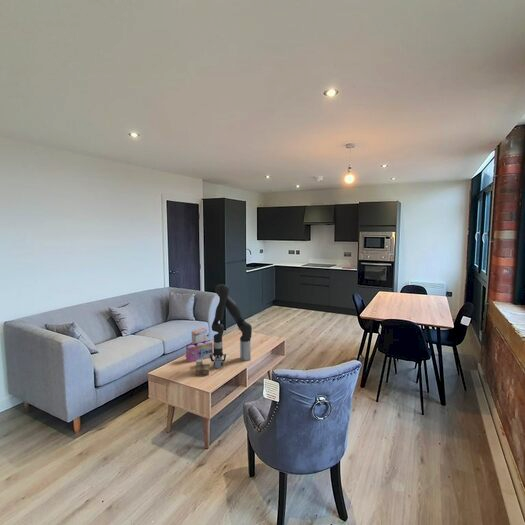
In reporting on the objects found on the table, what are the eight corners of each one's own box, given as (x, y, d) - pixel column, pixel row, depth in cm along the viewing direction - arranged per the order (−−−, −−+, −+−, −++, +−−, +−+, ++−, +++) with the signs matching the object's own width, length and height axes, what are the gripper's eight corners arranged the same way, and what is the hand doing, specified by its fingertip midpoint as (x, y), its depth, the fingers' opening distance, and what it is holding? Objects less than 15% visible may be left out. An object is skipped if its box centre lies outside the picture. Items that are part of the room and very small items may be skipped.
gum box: (210, 353, 297) (210, 339, 295) (214, 356, 290) (214, 342, 289) (186, 359, 283) (185, 344, 282) (189, 362, 277) (189, 347, 275)
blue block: (221, 365, 272) (221, 358, 271) (220, 368, 267) (220, 361, 266) (215, 365, 272) (215, 358, 271) (214, 368, 267) (214, 361, 266)
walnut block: (209, 370, 264) (209, 364, 263) (208, 375, 254) (208, 369, 253) (197, 370, 263) (197, 364, 262) (195, 376, 253) (195, 370, 252)
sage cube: (202, 364, 273) (202, 359, 273) (202, 367, 268) (202, 361, 268) (196, 365, 272) (196, 359, 271) (196, 367, 267) (196, 362, 266)
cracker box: (203, 348, 309) (202, 327, 307) (207, 350, 305) (207, 328, 303) (191, 353, 298) (191, 331, 296) (196, 354, 295) (195, 332, 292)
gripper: (227, 345, 271) (227, 364, 273) (210, 344, 271) (210, 364, 273) (226, 348, 263) (226, 368, 265) (208, 348, 263) (208, 368, 265)
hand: (218, 366), depth 269 cm, fingers closed on blue block, 5 cm apart
